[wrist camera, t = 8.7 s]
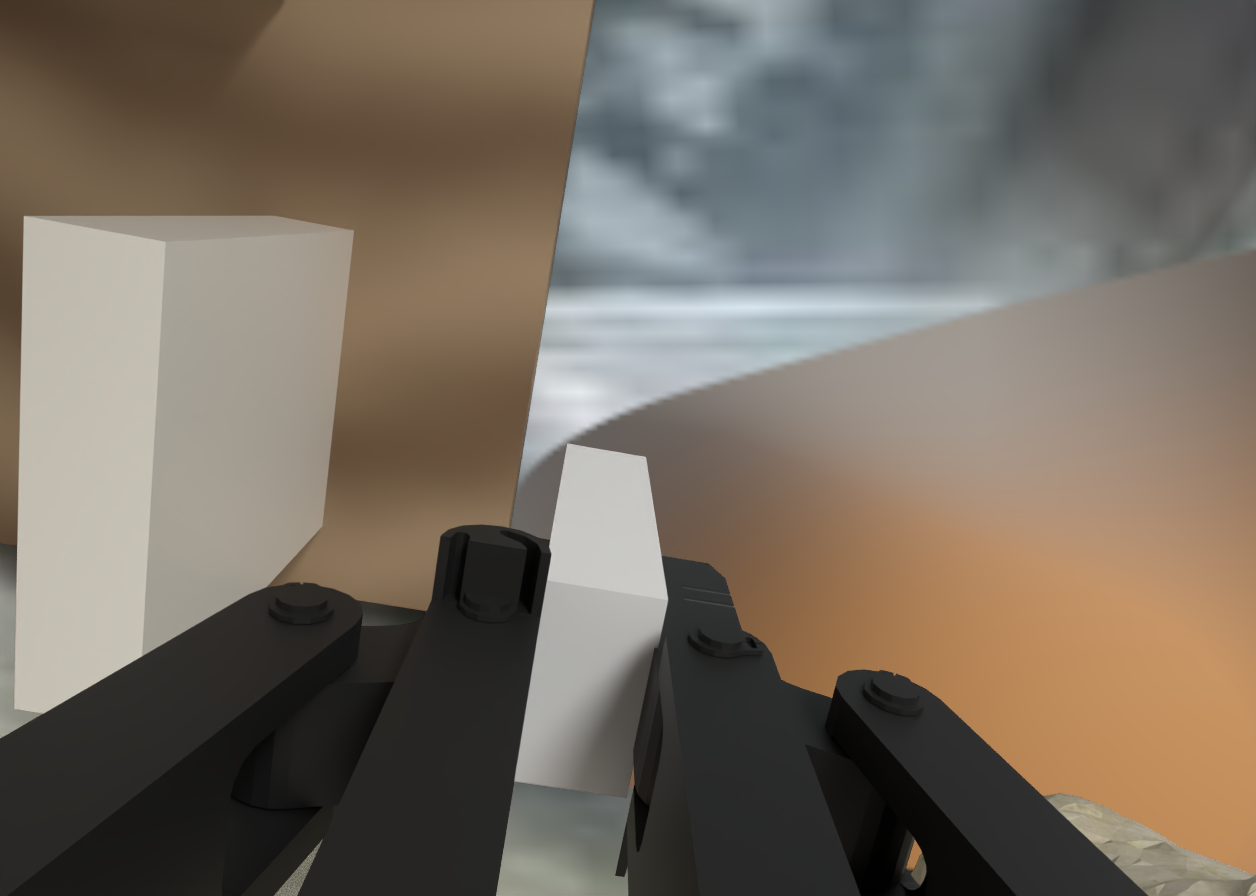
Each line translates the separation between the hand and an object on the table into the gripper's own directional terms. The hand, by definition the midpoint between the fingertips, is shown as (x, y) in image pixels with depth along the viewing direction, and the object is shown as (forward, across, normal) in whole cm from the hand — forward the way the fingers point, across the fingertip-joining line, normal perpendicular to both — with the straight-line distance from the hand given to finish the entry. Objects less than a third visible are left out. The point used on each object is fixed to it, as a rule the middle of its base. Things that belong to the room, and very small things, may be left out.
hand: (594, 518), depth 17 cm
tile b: (+7, -8, 0) cm, 11 cm away
